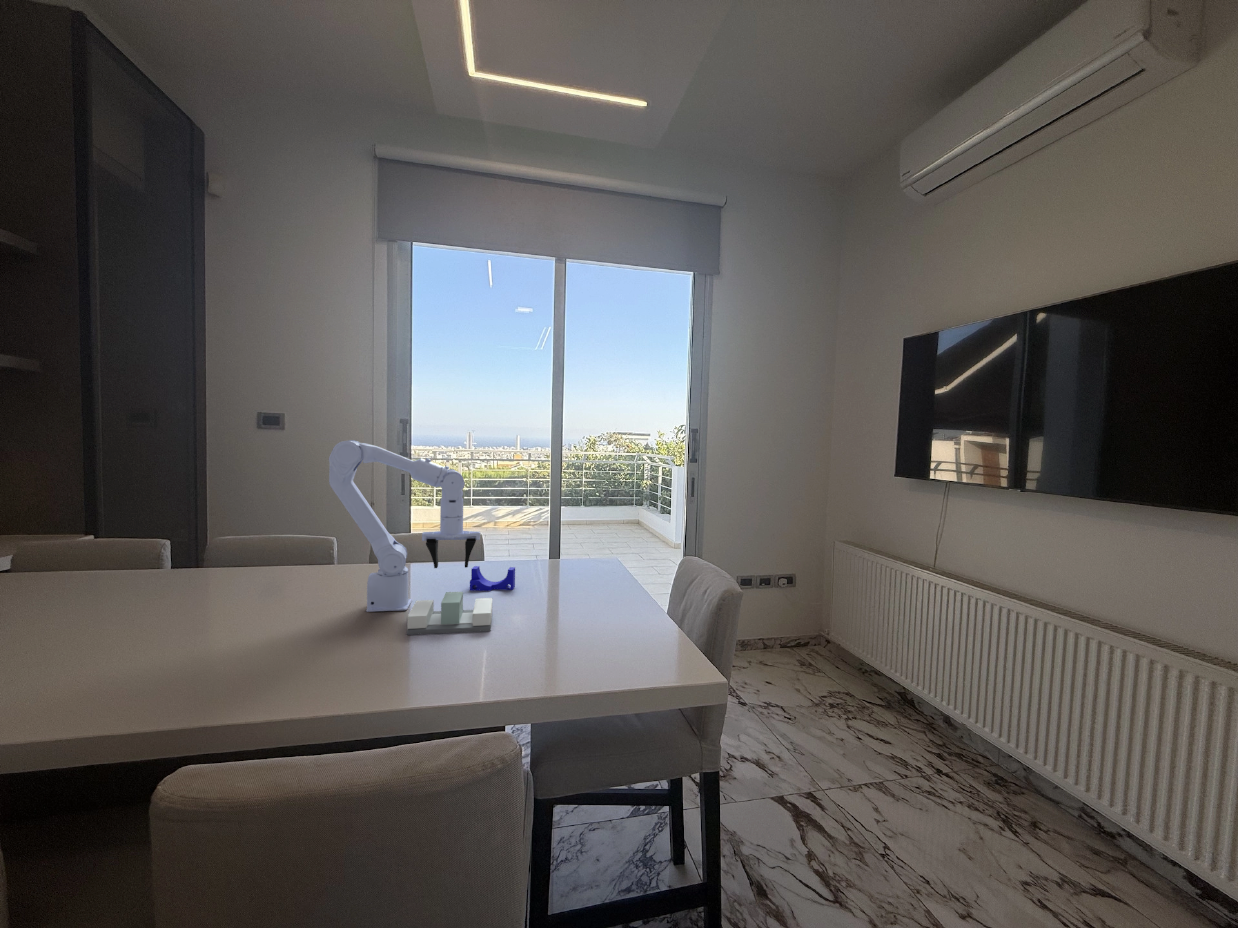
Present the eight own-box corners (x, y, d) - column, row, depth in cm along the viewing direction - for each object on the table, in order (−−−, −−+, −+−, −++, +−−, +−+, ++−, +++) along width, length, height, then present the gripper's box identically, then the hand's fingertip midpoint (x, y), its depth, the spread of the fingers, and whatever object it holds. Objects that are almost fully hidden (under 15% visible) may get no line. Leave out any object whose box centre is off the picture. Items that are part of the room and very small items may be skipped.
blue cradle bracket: (469, 590, 149) (470, 570, 149) (474, 586, 154) (474, 566, 153) (511, 592, 149) (512, 571, 149) (514, 587, 154) (515, 567, 153)
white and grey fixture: (407, 634, 116) (407, 617, 116) (416, 616, 128) (416, 599, 127) (490, 630, 120) (490, 613, 119) (492, 612, 131) (492, 597, 131)
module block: (440, 624, 119) (441, 602, 119) (445, 612, 127) (445, 592, 127) (459, 623, 120) (459, 602, 120) (463, 611, 128) (463, 591, 128)
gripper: (420, 518, 132) (419, 571, 133) (479, 518, 135) (478, 570, 136) (424, 514, 139) (424, 564, 140) (480, 514, 142) (480, 563, 143)
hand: (451, 566), depth 138 cm, fingers open, 7 cm apart
